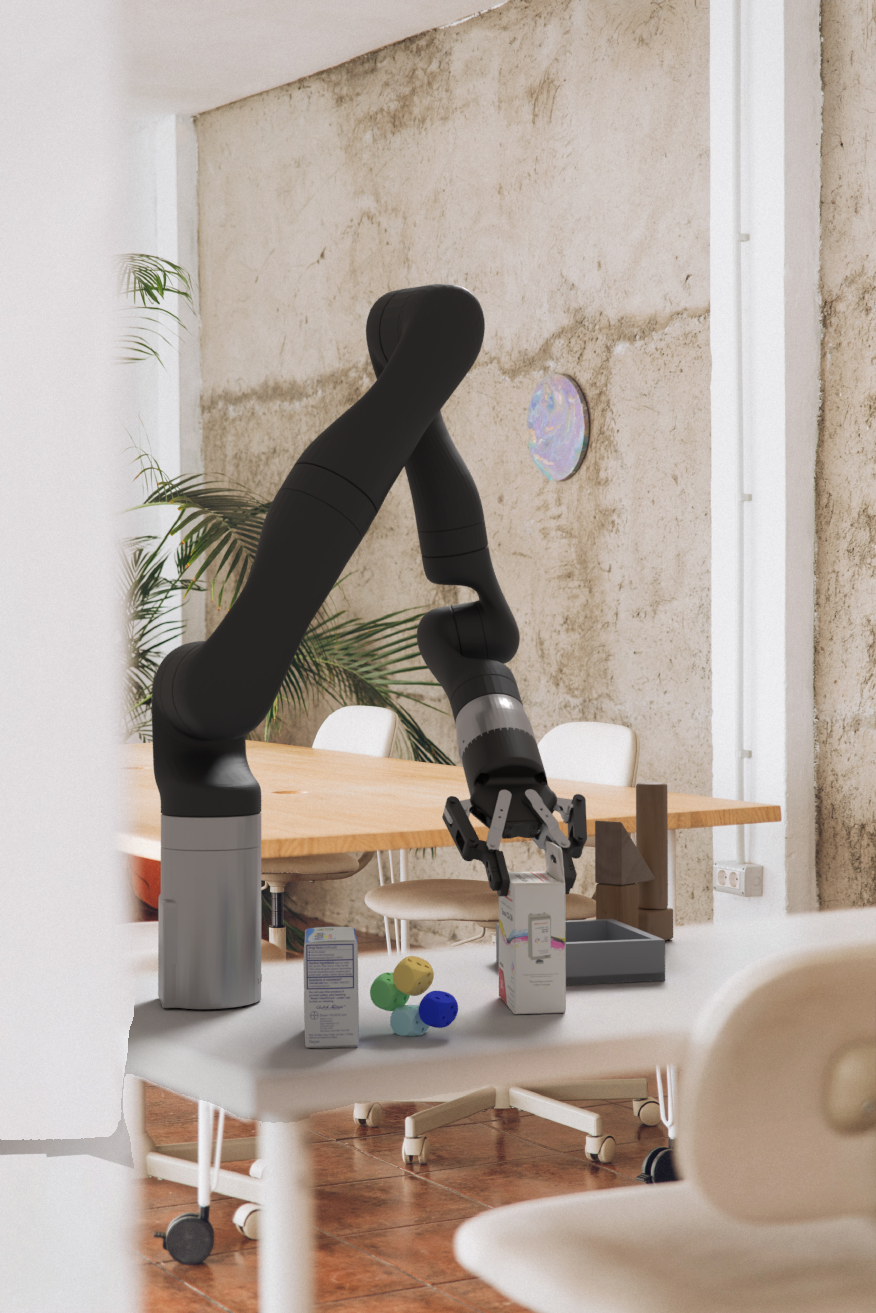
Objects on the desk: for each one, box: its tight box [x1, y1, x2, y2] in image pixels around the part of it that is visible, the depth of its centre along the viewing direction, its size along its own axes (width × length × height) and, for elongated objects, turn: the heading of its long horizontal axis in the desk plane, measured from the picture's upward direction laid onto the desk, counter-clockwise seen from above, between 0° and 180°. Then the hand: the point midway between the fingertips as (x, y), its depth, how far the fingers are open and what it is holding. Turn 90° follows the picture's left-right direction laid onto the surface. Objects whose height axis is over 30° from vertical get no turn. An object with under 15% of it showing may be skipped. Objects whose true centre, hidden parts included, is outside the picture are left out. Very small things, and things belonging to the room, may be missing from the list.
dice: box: [369, 955, 459, 1037], centre depth 133 cm, size 8×3×6 cm, turn 53°
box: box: [495, 918, 666, 986], centre depth 163 cm, size 13×15×4 cm
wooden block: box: [594, 781, 674, 941], centre depth 181 cm, size 4×11×18 cm, turn 140°
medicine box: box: [303, 926, 360, 1049], centre depth 132 cm, size 8×4×9 cm, turn 5°
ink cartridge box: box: [498, 841, 567, 1015], centre depth 145 cm, size 9×5×15 cm, turn 8°
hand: (536, 889), depth 144 cm, fingers closed on ink cartridge box, 5 cm apart
